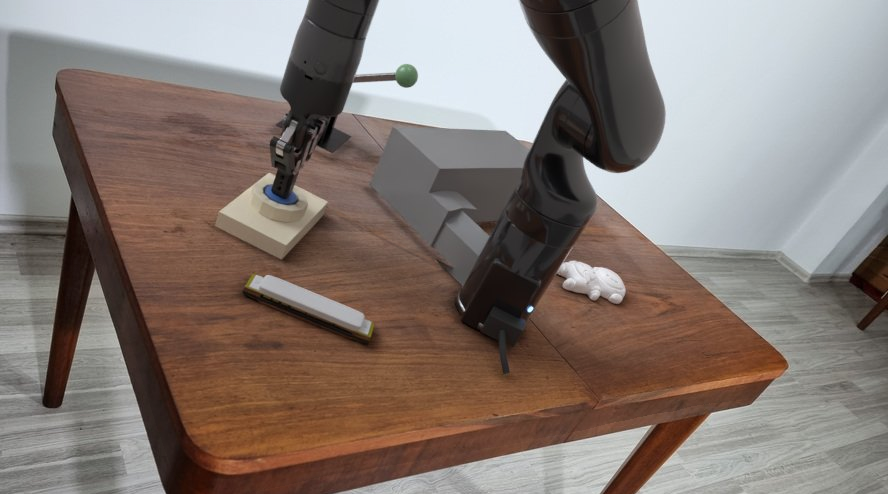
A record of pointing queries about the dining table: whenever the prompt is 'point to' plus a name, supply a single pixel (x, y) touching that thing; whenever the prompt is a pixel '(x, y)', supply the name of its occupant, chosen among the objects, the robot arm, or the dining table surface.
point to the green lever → (392, 76)
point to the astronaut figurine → (592, 281)
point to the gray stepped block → (450, 186)
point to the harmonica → (309, 307)
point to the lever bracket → (330, 136)
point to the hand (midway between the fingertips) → (280, 194)
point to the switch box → (270, 218)
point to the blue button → (288, 201)
